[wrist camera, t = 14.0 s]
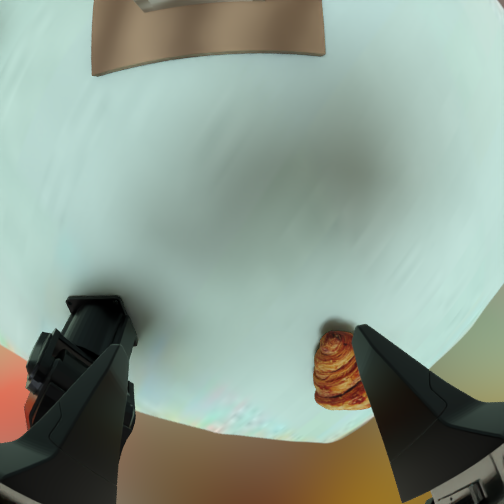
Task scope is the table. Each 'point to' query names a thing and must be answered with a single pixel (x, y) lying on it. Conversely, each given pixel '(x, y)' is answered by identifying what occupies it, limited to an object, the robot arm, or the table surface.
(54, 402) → the robot arm
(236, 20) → the cup bracket
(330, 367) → the croissant
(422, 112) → the table surface
